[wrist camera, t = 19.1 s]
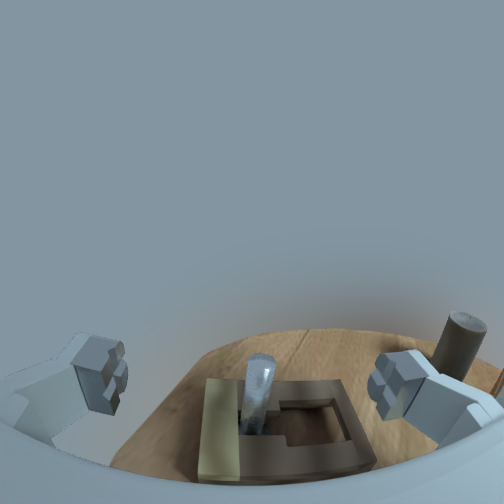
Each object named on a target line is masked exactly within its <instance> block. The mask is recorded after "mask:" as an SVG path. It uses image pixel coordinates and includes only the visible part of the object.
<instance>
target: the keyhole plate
mask: <svg viewBox="0 0 504 504" xmlns="http://www.w3.org/2000/svg"><path fill="white" fill-rule="evenodd" d="M244 389H245V380H227V379H213V378H207V379H206V388H205V398H204V408H203V418H202V428H201V439H200V451H199V463H198V482H199V484H210V485H228V486H268V485H286V484H298V483H307V482H315V481H323V480H329V479H335V478H341V477H346V476H351V475H356V474H361V473H365V472H369V471H370V469H371V468H372V467H373V466H374V464H375V463H376V462H377V459H376V456H375V454H374V452H373V450H372V447H371V445H370V443H369V441H368V439H367V436H366V434H365V432H364V430H363V428H362V425H361V423H360V421H359V419H358V417H357V414H356V412H355V410H354V408H353V406H352V404H351V401H350V399H349V397H348V395H347V393H346V391H345V389H344V386H343V384H342V382H341V380H340V379H338V380H320V381H273V383H272V388H271V393H270V398H269V402H268V407H267V412H266V416H265V417H279V414H280V409H306V408H322V407H333V408H334V411H335V413H336V416H337V419H338V421H339V424H340V426H341V429H342V432H343V434H344V437H345V439H346V441H342V442H335V443H327V444H318V445H307V446H293V447H287V442H286V437H285V435H238V417H241V412H242V404H243V396H244Z"/></svg>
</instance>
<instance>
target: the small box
mask: <svg viewBox="0 0 504 504" xmlns="http://www.w3.org/2000/svg"><path fill="white" fill-rule="evenodd" d="M489 394H490V395H492V396H493V398H494V399H495V400H496V401H497V402H498V403H499V404H500V405H501V406H502V408H503V409H504V369H503V371H502V373H501V374H500V376H499V378H498V380H497V382H496V383H495V385H494V387H493V388H492V390H491V392H490V393H489Z"/></svg>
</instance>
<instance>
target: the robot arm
mask: <svg viewBox="0 0 504 504" xmlns="http://www.w3.org/2000/svg"><path fill="white" fill-rule="evenodd" d="M124 354H125V350H124V345H123V343H122V342H121V341H117V340H112V339H108V338H103V337H98V336H94V335H89V334H85V333H77V334H76V335H75V336H74V338H73V339H72V340H71V341H70V342H69V344H68V345H67V346H66V347H65V348H64V350H63V351H62V352H61V354H60V355H59V356H58V357H57V358H56V360H54V359H50V360H47V361H44V362H42V363H39V364H37V365H34V366H32V367H29V368H27V369H24V370H21V371H18V372H16V373H13V374H10V375H8V376H5V377H2V378H0V504H504V409H503V408H502V406H501V405H500V404H499V403H498V402H497V401H496V400H495V399H494V398H493V396H492V395H490V394H488V393H485V392H483V391H481V390H478V389H476V388H474V387H472V386H469V385H467V384H465V383H462V382H460V381H458V380H456V379H453V378H451V377H449V376H447V375H445V374H439V373H438V372H437V370H436V369H435V368H434V367H433V366H432V365H431V364H430V363H429V361H428V360H427V359H426V358H425V357H424V356H423V355H422V354H421V353H420V352H419V351H418V350H415V349H414V350H407V351H403V352H394V353H383V354H380V355H379V356H378V357H377V359H376V361H375V366H376V369H375V370H374V371H373V372H372V373H371V374H370V376H369V379H368V384H367V390H368V394H369V396H370V398H371V399H372V400H373V401H375V402H377V406H376V409H377V411H378V413H379V414H380V416H381V418H382V420H383V421H387V420H392V419H398V418H402V417H404V418H403V419H405V420H406V421H407V422H409V423H410V424H411V425H413V426H414V427H416V428H417V429H418V430H420V431H421V432H422V433H424V434H425V435H427V436H428V437H429V438H431V439H432V440H434V441H435V442H436V443H438V444H439V446H438V447H437V448H436V449H435V451H433V452H430V453H428V454H425V455H422V456H419V457H417V458H414V459H411V460H408V461H405V462H402V463H398V464H395V465H392V466H388V467H385V468H381V469H377V470H373V471H369V472H365V473H361V474H356V475H351V476H346V477H341V478H335V479H329V480H323V481H315V482H307V483H298V484H286V485H268V486H228V485H210V484H198V483H189V482H181V481H173V480H167V479H161V478H155V477H150V476H145V475H140V474H136V473H131V472H127V471H123V470H119V469H115V468H112V467H108V466H105V465H101V464H98V463H95V462H91V461H88V460H86V459H83V458H80V457H77V456H74V455H72V454H69V453H66V452H64V451H61V450H59V449H56V447H55V446H54V444H53V443H52V441H51V438H52V437H54V436H55V435H56V434H58V433H59V432H61V431H62V430H64V429H65V428H67V427H68V426H69V425H71V424H72V423H74V422H75V421H76V420H78V419H79V418H81V417H82V416H84V415H85V414H86V413H88V412H89V410H91V411H95V412H99V413H103V414H108V415H112V416H114V415H115V412H116V410H117V407H118V405H119V403H120V399H119V394H121V393H122V392H124V390H125V388H126V385H127V380H128V368H127V364H126V362H125V361H124V360H123V359H122V357H123V355H124Z"/></svg>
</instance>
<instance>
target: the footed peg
mask: <svg viewBox="0 0 504 504" xmlns="http://www.w3.org/2000/svg"><path fill="white" fill-rule="evenodd" d="M275 368H276V360H275V359H274V358H273V357H272V356H270V355H267V354H262V353H258V354H254V355H251V356H250V357H249V359H248V365H247V373H246V381H245V389H244V396H243V404H242V412H241V420H240V421H238V435H272V433H271V431H270V429H269V428H268V427H267V426H266V425H265V424H264V421H265V416H266V412H267V407H268V402H269V398H270V393H271V388H272V383H273V378H274V373H275Z"/></svg>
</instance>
